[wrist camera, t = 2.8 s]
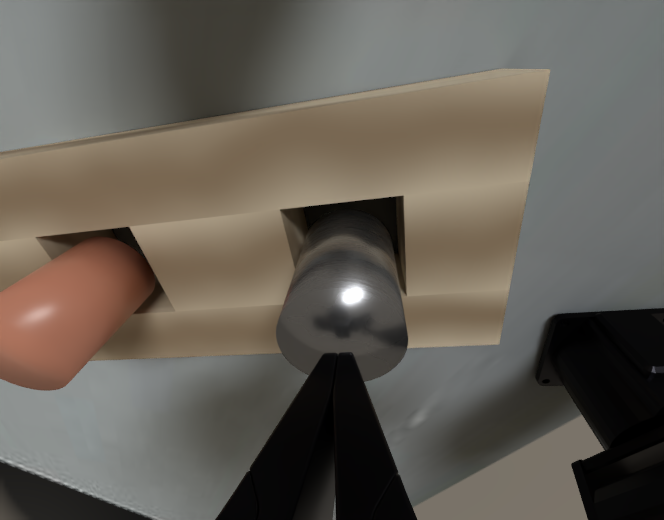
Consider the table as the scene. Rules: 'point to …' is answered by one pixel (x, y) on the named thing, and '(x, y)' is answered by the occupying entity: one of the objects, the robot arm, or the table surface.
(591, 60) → the table surface
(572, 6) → the table surface
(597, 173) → the table surface
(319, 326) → the grey button
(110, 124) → the table surface
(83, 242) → the red button
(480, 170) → the button panel
